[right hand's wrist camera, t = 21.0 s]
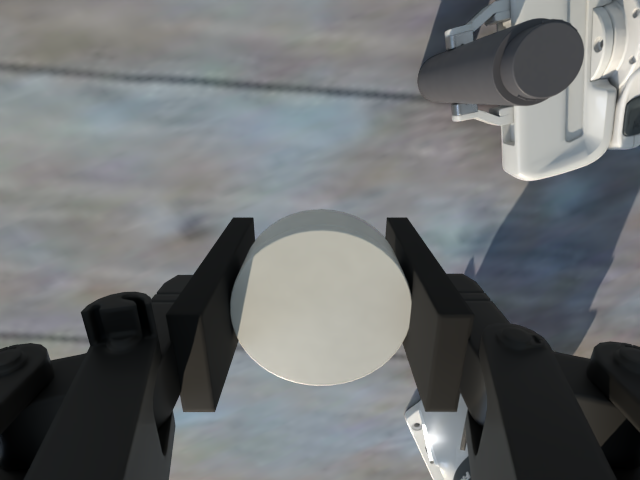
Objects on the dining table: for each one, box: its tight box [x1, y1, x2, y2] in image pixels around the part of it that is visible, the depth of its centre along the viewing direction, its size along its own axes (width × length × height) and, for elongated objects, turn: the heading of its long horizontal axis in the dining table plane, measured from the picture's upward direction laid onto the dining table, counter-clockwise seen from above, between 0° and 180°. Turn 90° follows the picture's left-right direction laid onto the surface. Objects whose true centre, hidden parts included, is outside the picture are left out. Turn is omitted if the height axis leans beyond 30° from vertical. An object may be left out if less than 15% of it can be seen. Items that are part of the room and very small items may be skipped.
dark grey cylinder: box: [418, 18, 584, 106], centre depth 28 cm, size 4×4×19 cm
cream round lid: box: [230, 209, 412, 386], centre depth 11 cm, size 5×5×2 cm
